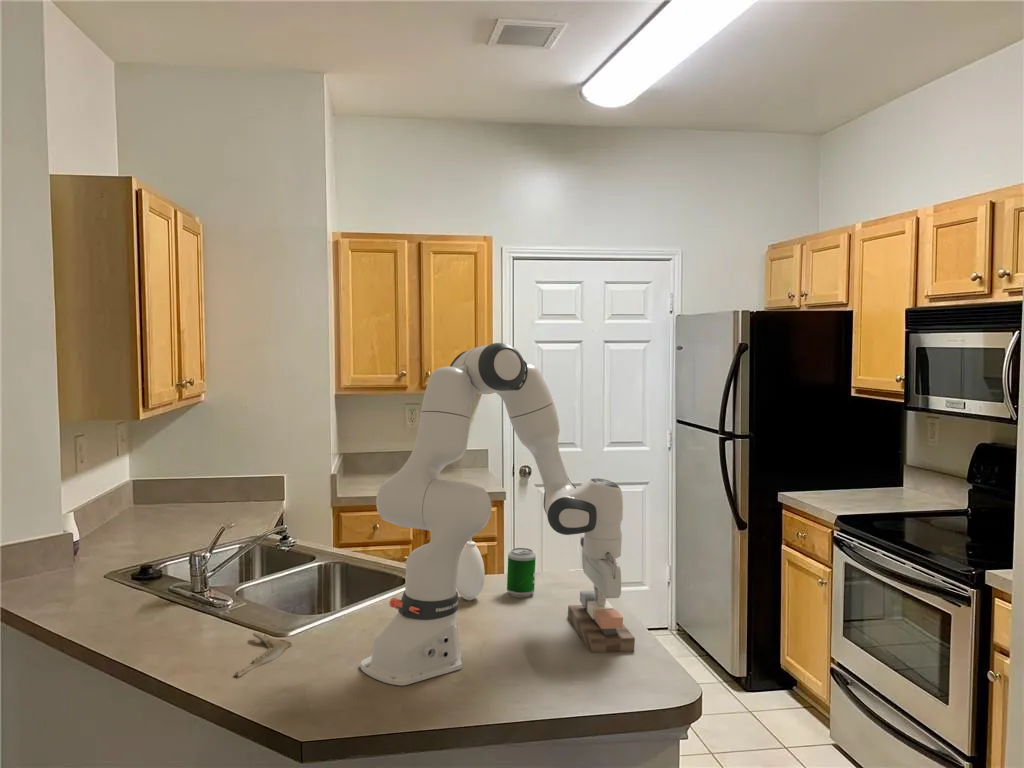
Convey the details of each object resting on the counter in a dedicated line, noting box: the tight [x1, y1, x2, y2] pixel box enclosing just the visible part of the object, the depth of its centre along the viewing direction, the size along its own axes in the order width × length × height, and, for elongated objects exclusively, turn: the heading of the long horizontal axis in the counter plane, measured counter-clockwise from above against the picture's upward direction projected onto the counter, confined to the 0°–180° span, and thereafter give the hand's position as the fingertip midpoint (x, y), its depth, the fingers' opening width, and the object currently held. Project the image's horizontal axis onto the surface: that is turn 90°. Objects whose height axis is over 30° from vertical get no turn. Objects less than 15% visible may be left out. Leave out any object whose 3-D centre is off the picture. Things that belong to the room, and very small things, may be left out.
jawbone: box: [233, 632, 292, 678], centre depth 169 cm, size 9×20×2 cm, turn 8°
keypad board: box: [567, 604, 636, 654], centre depth 188 cm, size 22×10×3 cm, turn 10°
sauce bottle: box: [456, 537, 486, 601], centre depth 208 cm, size 8×8×18 cm
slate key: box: [579, 590, 595, 613], centre depth 195 cm, size 5×5×6 cm
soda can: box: [506, 547, 537, 598], centre depth 214 cm, size 8×8×12 cm
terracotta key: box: [595, 609, 624, 635], centre depth 181 cm, size 5×5×6 cm
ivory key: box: [587, 600, 615, 624], centre depth 188 cm, size 5×5×6 cm
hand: (600, 603), depth 188 cm, fingers closed
